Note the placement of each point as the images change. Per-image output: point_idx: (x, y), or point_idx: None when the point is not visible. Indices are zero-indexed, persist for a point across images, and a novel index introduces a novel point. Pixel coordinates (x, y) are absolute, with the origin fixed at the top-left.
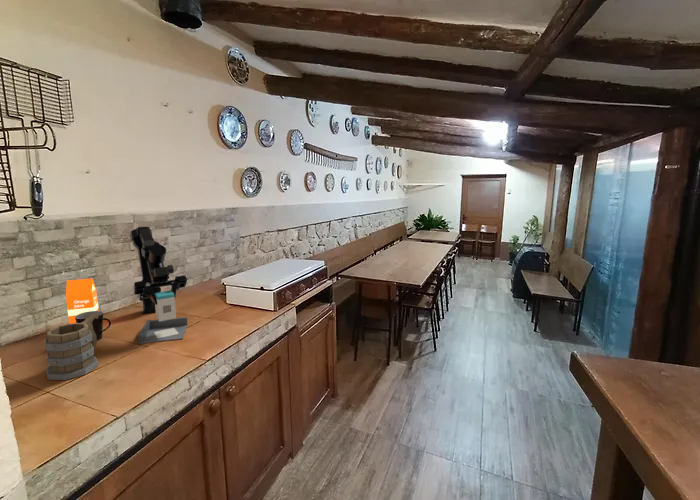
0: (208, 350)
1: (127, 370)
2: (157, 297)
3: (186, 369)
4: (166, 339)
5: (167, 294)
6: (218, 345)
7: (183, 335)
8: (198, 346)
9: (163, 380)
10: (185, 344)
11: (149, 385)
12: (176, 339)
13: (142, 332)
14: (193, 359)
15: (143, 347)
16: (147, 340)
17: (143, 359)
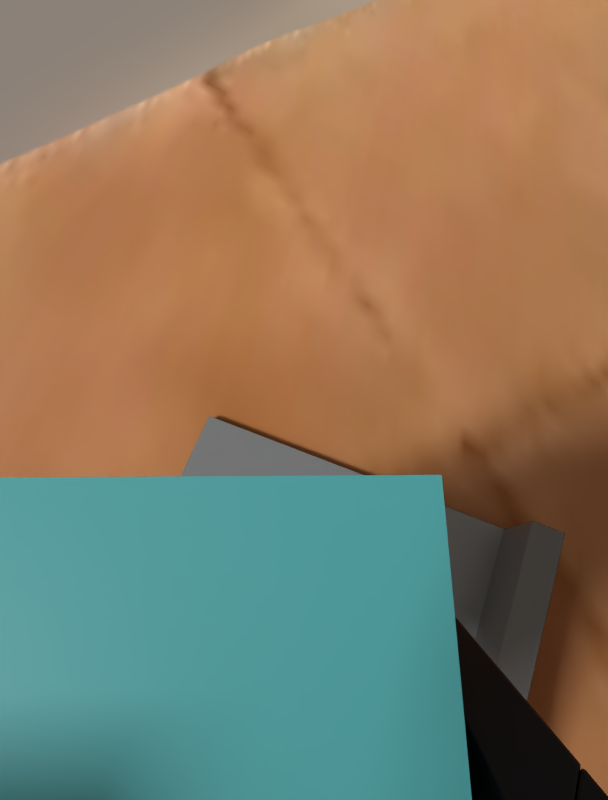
0: (147, 159)
1: (587, 172)
2: (435, 481)
3: (318, 40)
4: (322, 468)
5: (137, 556)
6: (69, 187)
7: (187, 467)
8: (170, 239)
9: (430, 8)
10: (227, 315)
11: (489, 2)
12: (254, 435)
13: (522, 577)
14: (256, 108)
15: (495, 440)
16: (461, 544)
17: (503, 251)
